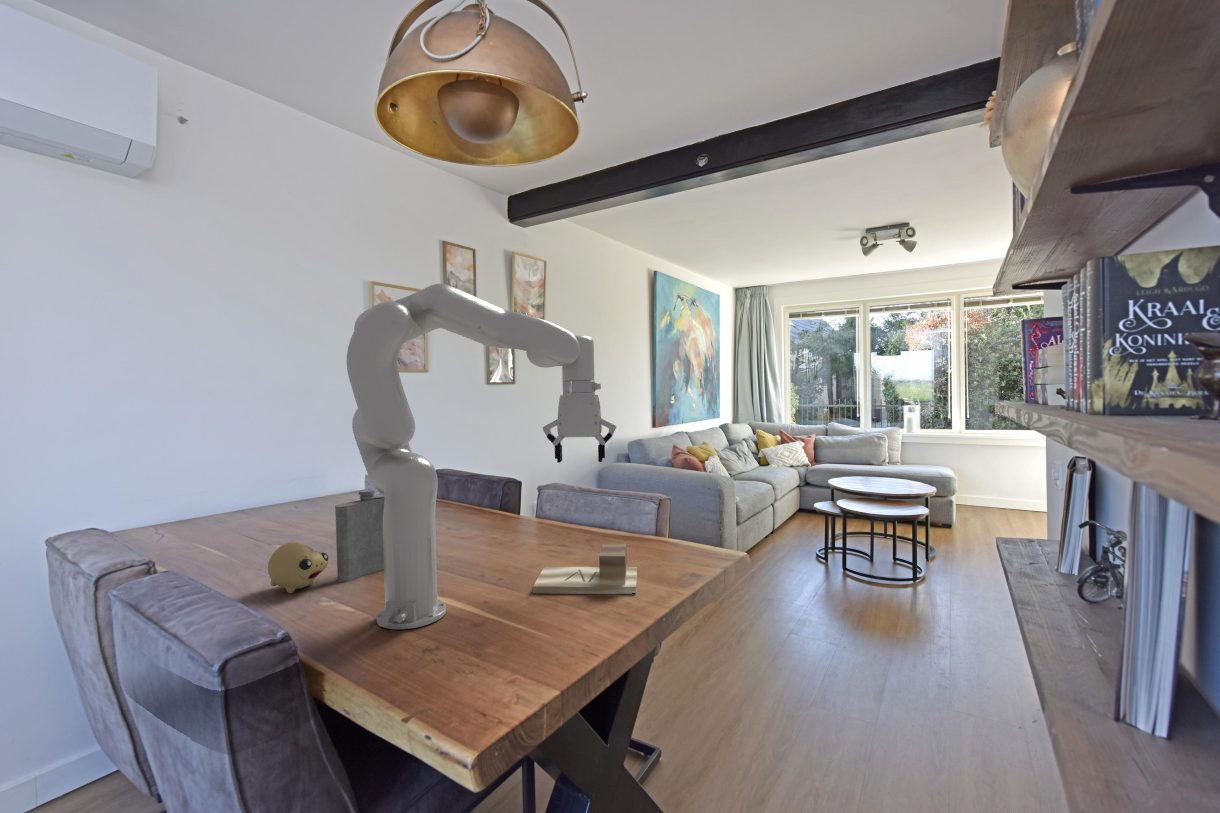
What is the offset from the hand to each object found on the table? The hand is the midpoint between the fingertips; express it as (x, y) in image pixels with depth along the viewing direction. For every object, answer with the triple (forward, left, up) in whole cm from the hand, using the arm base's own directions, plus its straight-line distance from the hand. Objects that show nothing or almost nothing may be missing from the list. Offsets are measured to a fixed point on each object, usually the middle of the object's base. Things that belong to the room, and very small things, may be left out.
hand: (580, 461), depth 129 cm
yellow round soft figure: (-12, +62, -26) cm, 68 cm away
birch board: (-7, -2, -26) cm, 27 cm away
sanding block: (-7, -8, -25) cm, 27 cm away
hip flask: (0, +52, -27) cm, 58 cm away
